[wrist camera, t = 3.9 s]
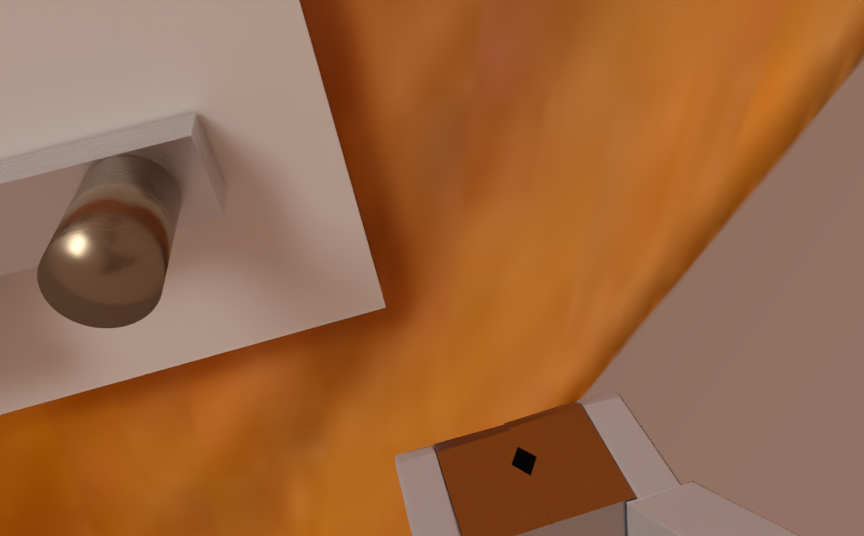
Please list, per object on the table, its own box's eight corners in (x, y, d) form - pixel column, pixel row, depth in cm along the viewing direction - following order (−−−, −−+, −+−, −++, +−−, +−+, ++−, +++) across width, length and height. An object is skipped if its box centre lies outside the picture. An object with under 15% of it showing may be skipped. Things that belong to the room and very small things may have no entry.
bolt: (196, 111, 18) (173, 208, 14) (227, 188, 20) (216, 300, 15) (-181, 206, 18) (-345, 344, 13) (-122, 279, 19) (-251, 428, 14)
